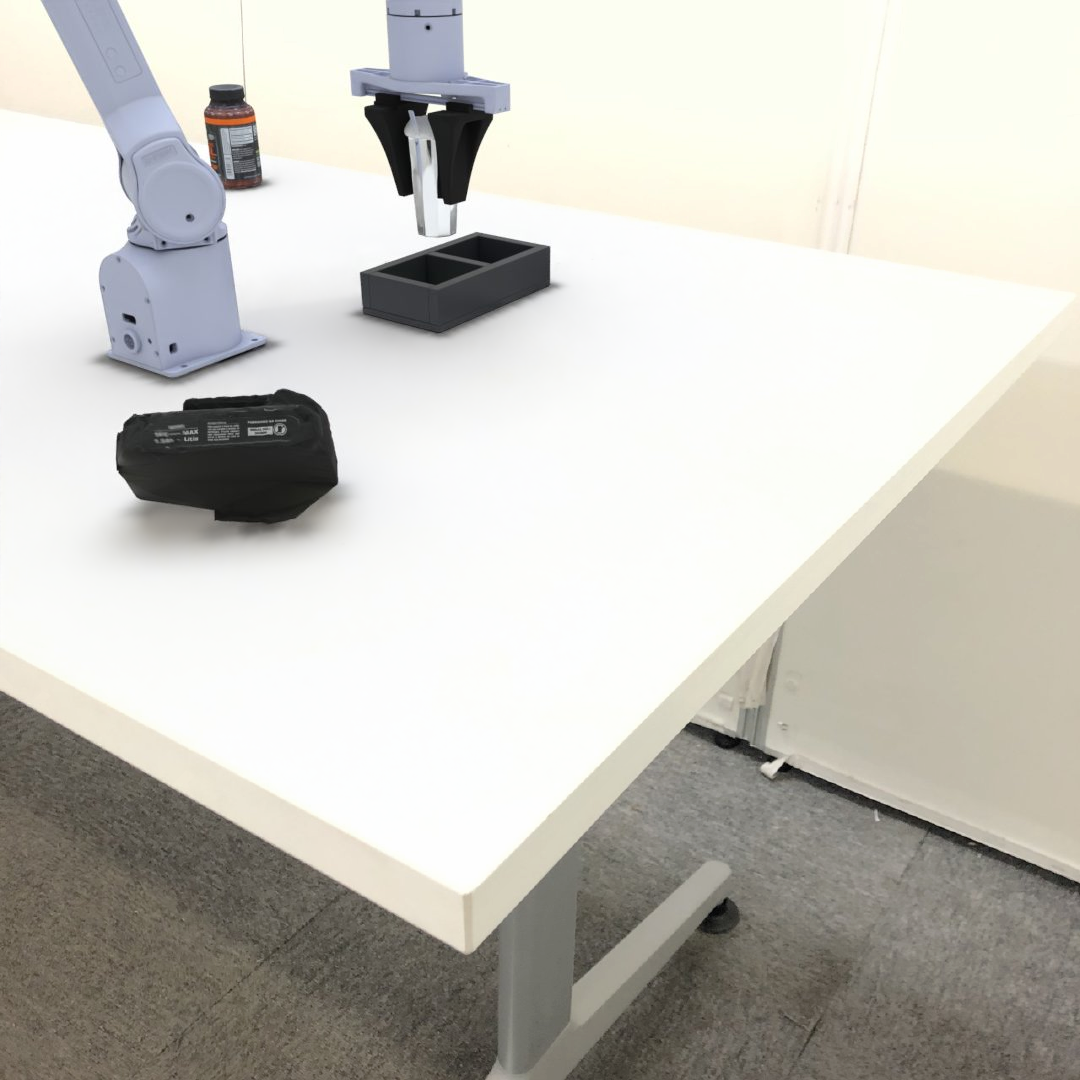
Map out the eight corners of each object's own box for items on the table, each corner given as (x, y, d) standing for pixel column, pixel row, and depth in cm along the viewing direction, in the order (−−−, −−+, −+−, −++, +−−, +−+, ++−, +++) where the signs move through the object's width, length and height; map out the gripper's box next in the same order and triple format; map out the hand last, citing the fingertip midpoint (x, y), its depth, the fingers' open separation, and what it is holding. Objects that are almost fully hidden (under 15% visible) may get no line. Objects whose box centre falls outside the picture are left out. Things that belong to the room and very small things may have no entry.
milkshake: (392, 237, 91) (385, 107, 86) (428, 222, 95) (423, 98, 90) (440, 245, 89) (435, 113, 84) (474, 230, 94) (472, 102, 89)
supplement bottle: (209, 181, 139) (195, 84, 134) (257, 177, 141) (245, 81, 136) (218, 191, 135) (205, 91, 129) (268, 187, 137) (256, 88, 131)
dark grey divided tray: (550, 285, 103) (550, 246, 101) (439, 333, 92) (437, 290, 90) (477, 269, 107) (476, 231, 106) (362, 313, 96) (359, 272, 94)
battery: (353, 534, 66) (345, 431, 69) (325, 473, 59) (318, 360, 61) (150, 561, 66) (150, 456, 69) (97, 503, 58) (99, 387, 61)
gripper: (534, 15, 83) (533, 201, 90) (388, 4, 91) (397, 177, 97) (475, 23, 78) (479, 219, 85) (325, 11, 86) (340, 192, 92)
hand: (432, 198), depth 91 cm, fingers closed on milkshake, 4 cm apart
